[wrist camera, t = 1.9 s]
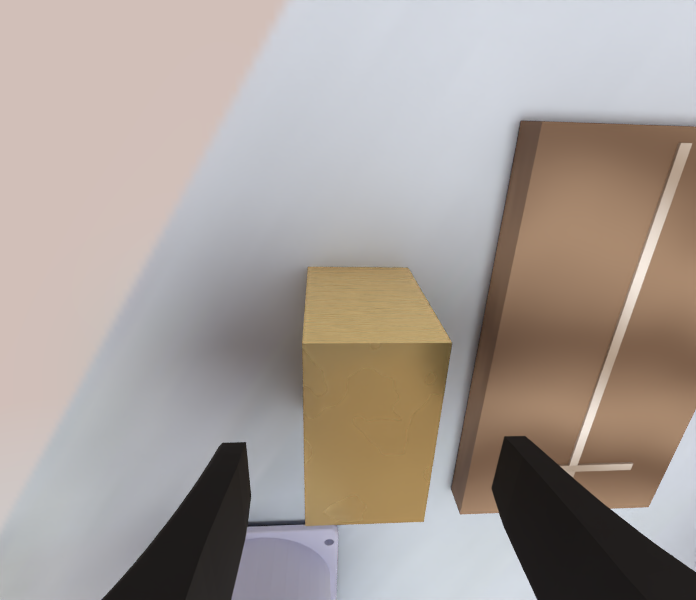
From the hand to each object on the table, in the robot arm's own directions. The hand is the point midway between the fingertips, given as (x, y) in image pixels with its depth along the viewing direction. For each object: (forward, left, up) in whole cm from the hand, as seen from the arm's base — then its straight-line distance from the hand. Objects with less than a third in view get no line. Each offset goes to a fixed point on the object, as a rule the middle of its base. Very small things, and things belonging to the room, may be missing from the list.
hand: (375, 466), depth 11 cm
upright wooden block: (0, 0, -7) cm, 7 cm away
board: (0, -10, -7) cm, 13 cm away
